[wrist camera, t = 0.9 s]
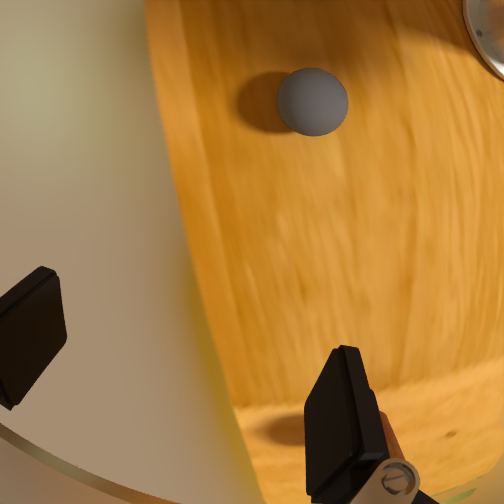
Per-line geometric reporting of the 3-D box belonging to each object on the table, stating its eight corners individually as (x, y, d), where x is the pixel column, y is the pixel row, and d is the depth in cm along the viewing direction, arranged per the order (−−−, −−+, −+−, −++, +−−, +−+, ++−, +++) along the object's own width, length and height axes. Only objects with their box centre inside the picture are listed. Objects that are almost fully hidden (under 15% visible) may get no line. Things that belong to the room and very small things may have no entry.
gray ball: (325, 65, 23) (337, 52, 18) (350, 123, 24) (366, 123, 19) (266, 86, 24) (263, 77, 19) (291, 144, 26) (294, 149, 21)
